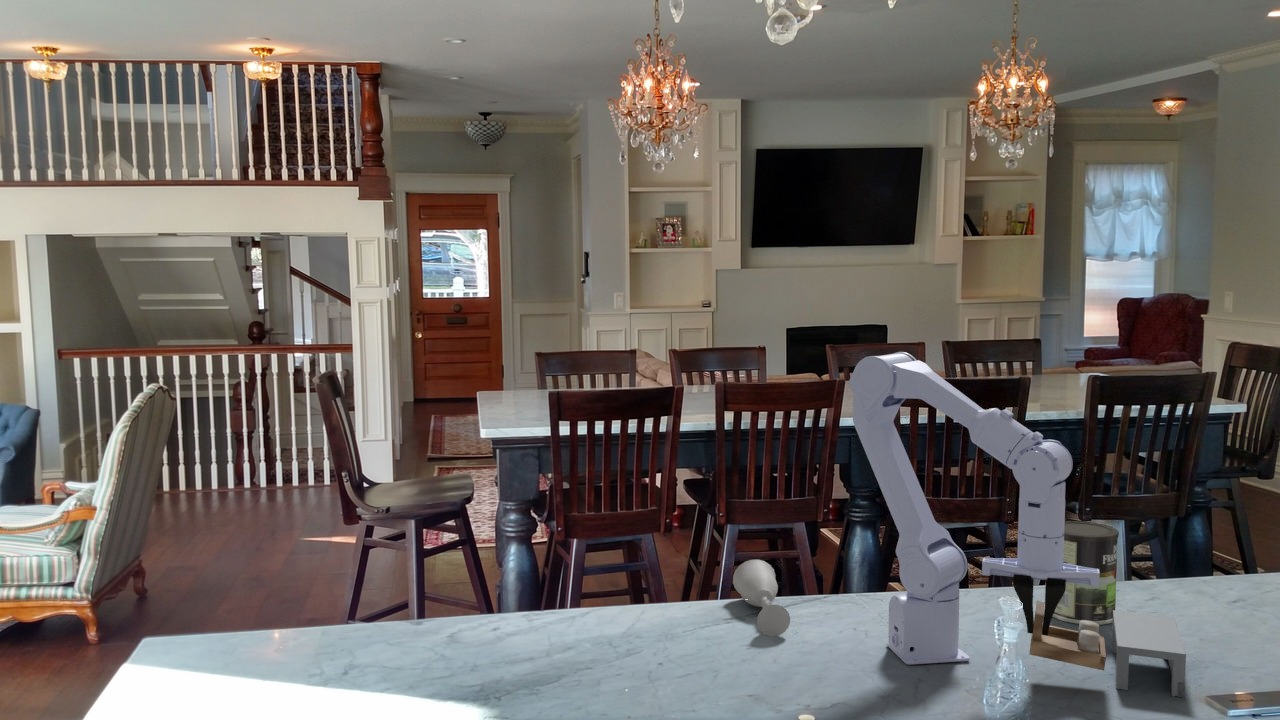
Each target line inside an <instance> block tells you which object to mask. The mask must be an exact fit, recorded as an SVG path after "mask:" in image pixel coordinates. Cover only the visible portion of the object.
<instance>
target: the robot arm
mask: <svg viewBox="0 0 1280 720" xmlns="http://www.w3.org/2000/svg"><path fill="white" fill-rule="evenodd" d="M848 384H849V386H850V389H851V391H852V422H853V425H854V428H855V431H856V432H857V435H858V438H859V440H860V443H861V444H862V447H863V449H864V452H865V455H866V457H867V460H868V461H869V464H870V466H871V469H872V471H873V474H874V476H875V478H876V480H877V482H878V485H879V488H880V490H881V493H882V496H883V498H884V501H885V502H886V505H887V507H888V510H889V512H890V515H891V517H892V519H893V521H894V525H895V526H896V529H897V531H898V535H899V536H898V541H897V544H896V548H895V555H896V557H897V560H898V563H899V572H898V573H899V579H900V582H901V584H902V586H903V587H904V589H905V590H906V591H905V592H903V593H900V594H895V595H892V596H891V597H890V600H889V604H888V641H886V646H887V647H888V648H889V649H890V650H891V651H892V652H893V653H894V654H895V655H896V656H897V657H898V658H900V660H901V661H902V662H903V663H904V664H906V665H908V666H909V665H922V664H923V665H925V664H939V663H941V664H942V663H954V662H955V663H956V662H969V661H970V660H971V658H970V656H969V655H968V654H967V653H965V652H964V651H963V650H962V649H960V648H959V639H960V638H959V636H960V635H959V633H960V632H959V631H960V630H959V629H960V582H961V581H962V580H963V579H964V578H965V576H966V575H967V571H968V560H967V557H966V556H967V555H966V554H965V553H964V551H963V550H962V548H960V547H959V546H958V545H957V544H956V542H954V540H953V539H952V536H951V534H950V532H949V531H948V530H947V529H946V528H945V527H943V526H942V525H941V524H939V523H938V522H937V521H936V520H935V517H934V515H933V512H932V510H931V508H930V506H929V503H928V501H927V498H926V496H925V494H924V491H923V489H922V487H921V484H920V481H919V479H918V477H917V475H916V472H915V471H914V468H913V465H912V462H911V460H910V459H909V455H908V454H907V452H906V449H905V447H904V444H903V442H902V439H901V437H900V434H899V433H898V430H897V427H896V426H895V423H894V420H895V419H896V416H897V414H898V412H899V410H900V407H901V406H902V404H903V403H904V402H905V401H906V400H907V399H917V400H922V401H924V402H925V403H927V404H928V405H930V406H931V407H933V408H934V409H936V410H937V411H939V412H941V413H943V414H944V415H946V416H947V417H949V418H950V419H952V420H954V421H955V422H957V423H959V424H960V425H961V426H963V427H965V428H967V429H968V433H969V436H970V437H969V438H970V440H971V442H972V443H973V445H976V446H978V448H980V449H981V450H983V451H984V452H986V453H987V454H989V455H990V456H991V457H993V458H994V459H996V460H998V461H999V462H1000V463H1001V464H1003V465H1004V466H1005V467H1007V468H1008V469H1011V470H1012V474H1013V477H1014V478H1015V480H1016V482H1017V483H1018V485H1019V498H1018V525H1017V529H1018V530H1017V554H1016V555H1017V556H1016V557H1017V558H1011V557H1010V558H1008V557H1007V558H1004V557H1001V558H999V557H998V558H997V557H995V558H993V557H983V558H982V562H981V564H982V565H981V575H982V576H991V575H993V576H1002V577H1003V576H1004V577H1010V578H1011V577H1012V578H1013V582H1012V583H1013V584H1012V585H1013V589H1014V591H1015V593H1016V595H1017V597H1018V600H1019V601H1021V602H1022V603H1023V608H1022V610H1023V614H1024V618H1025V621H1026V622H1025V623H1026V628H1027V629H1026V631H1027V634H1030V635H1031V634H1033V627H1034V618H1035V616H1034V603H1033V602H1034V583H1035V581H1034V580H1040V581H1041V580H1042V581H1045V587H1044V588H1045V590H1044V592H1045V593H1044V602H1045V604H1044V618H1043V631H1042V635H1048V631H1049V626H1051V625H1050V624H1051V622H1052V618H1053V617H1052V616H1053V614H1054V611H1055V609H1056V607H1057V605H1058V603H1059V601H1060V600H1061V598H1062V597H1063V595H1064V593H1065V590H1066V582H1068V583H1077V584H1087V585H1090V586H1092V587H1099V576H1100V572H1099V569H1094V568H1087V567H1082V566H1076V565H1071V564H1066V563H1063V551H1064V526H1065V521H1066V481H1065V480H1066V479H1067V478H1068V477H1069V476H1070V475H1071V472H1072V470H1073V467H1074V466H1073V464H1074V463H1073V457H1072V454H1071V453H1070V451H1069V450H1068V448H1067V447H1065V446H1064V445H1063V444H1062V442H1061V441H1059V440H1056V439H1043V438H1044V435H1043V434H1042V433H1041V432H1039V431H1035V432H1033V431H1032V430H1031V429H1028V427H1026V426H1024V425H1023V424H1021V423H1020V422H1018V421H1017V420H1016V419H1014V418H1013V416H1014V413H1013V412H1012V411H1010V410H1008V409H1006V408H1005V409H1002V410H1000V409H999V408H998V407H994V408H989V409H984V408H982V407H981V406H979V404H977V403H976V402H975V401H974V400H972V399H971V398H969V397H968V396H966V395H965V394H964V393H963V392H961V391H960V390H959V389H957V388H956V387H955V386H953V385H952V384H951V383H949V382H948V381H946V380H945V379H944V378H943V377H941V376H940V375H939V374H937V373H936V372H935V371H934V370H933V369H931V367H930V366H929V365H928V364H927V363H925V362H924V361H921V360H919V359H918V360H917V359H916V358H915V357H914V356H913V355H912V354H910V353H908V352H906V351H905V352H904V351H897V352H894V353H893V352H892V353H889V354H884V355H870V356H865V357H864V358H862V359H861V360H860V361H858V363H857V364H856V365H855V368H854V370H853V372H852V374H851V376H850V378H849V380H848ZM1021 602H1020V604H1021V606H1022V603H1021Z"/></svg>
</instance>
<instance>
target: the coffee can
mask: <svg viewBox="0 0 1280 720" xmlns="http://www.w3.org/2000/svg"><path fill="white" fill-rule="evenodd" d="M1119 532H1120V531H1119V530H1118V529H1116V528H1115V527H1112V526H1110V525H1107V524H1103V523H1097V522H1091V521H1081V520H1065V526H1064V551H1063V563H1066V564H1071V565H1076V566H1082V567H1087V568H1094V569H1099V572H1100V576H1099V587H1092V586H1090V585H1087V584H1077V583H1068V582H1066V590H1065V593H1064V595H1063V597H1062V598H1061V600H1060V601H1059V603H1058V605H1057V607H1056V609H1055V611H1054V614H1053V616H1052V618H1054V619H1056V620H1059V621H1061V622H1065V623H1070V624H1074V625H1075V624H1076V625H1079V623H1080V621H1081V620H1087V621H1092V622H1095V623H1097V624H1098V625H1099V626H1103V625H1108V624H1112V622H1113V610H1115V611H1116V606H1117V605H1116V603H1117V602H1116V600H1117V568H1118V542H1119V541H1118V540H1119V539H1118V538H1119Z"/></svg>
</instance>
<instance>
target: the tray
mask: <svg viewBox="0 0 1280 720" xmlns="http://www.w3.org/2000/svg"><path fill="white" fill-rule="evenodd" d="M1035 604H1036V605H1035V612H1034V627H1033V634H1031V633H1030V643H1029V644H1030V645H1029V653H1028V654H1029V655H1030V656H1035V657H1039V658H1043V659H1048V660H1053V661H1057V662H1062V663H1067V664H1072V665H1075V666H1081V667H1085V668H1090V669H1096V670H1099V671H1105V668H1106V660H1107V654H1106V652H1107V651H1106V646H1105V645H1106V644H1105V636H1104V635H1101V634H1100V633H1099V631H1100V630H1099V629H1100V625H1098V624H1097V623H1095V622H1092V621H1087V620H1081V621H1080V623H1079V624H1078V630H1074V629H1069V628H1065V627H1064V628H1063V627H1059V626H1055V625H1050V626H1049V631H1048V635H1042V631H1043V618H1044V610H1045V601H1042V600H1041V601H1039V600H1036V603H1035Z"/></svg>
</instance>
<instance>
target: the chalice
mask: <svg viewBox="0 0 1280 720" xmlns="http://www.w3.org/2000/svg"><path fill="white" fill-rule="evenodd" d="M776 576H777V575H776V573H775V569H774V567H772V565H771V564H769V563H768V562H766V561H765V560H761V559H749V560H746V561H744V562H743V563H741V564H739V565H738V567H736V569H735V571H734V573H733V575H732V584H733V587H734V589H735V590H736V591H737V593H739V594H740V595H741V598H742V599H743V600H744V599H748V600H744V602H746V603H747V604H749V605H751V606H753V607H758V608H760V607H761V610H760V612H759V613H758V615H757V618H756V624H757V627H758V629H759V631H760V632H761V633H762V634H764V635H765V636H768V637H777V636H781V635H782V634H784V633H785V632H786V631H787V630H788V629H789V626H790V623H791V616H790V613H789V611H788V610H787V609H786V608H785V607H783V606H782V605H779V604H772V603H773V602H774V600H775V598H776V596H777V595H778V590H779V585H778V582H777V580H776V578H777V577H776Z"/></svg>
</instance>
